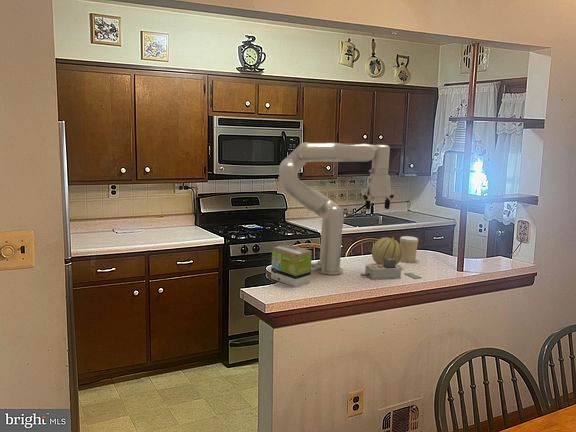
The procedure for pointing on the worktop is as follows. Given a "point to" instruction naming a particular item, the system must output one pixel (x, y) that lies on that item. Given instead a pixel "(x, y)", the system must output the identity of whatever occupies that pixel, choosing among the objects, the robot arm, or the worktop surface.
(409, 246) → the coffee cup
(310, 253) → the tea box
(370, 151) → the robot arm
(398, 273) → the machine vise
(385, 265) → the charger
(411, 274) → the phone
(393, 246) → the cantaloupe
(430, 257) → the worktop surface
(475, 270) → the worktop surface
